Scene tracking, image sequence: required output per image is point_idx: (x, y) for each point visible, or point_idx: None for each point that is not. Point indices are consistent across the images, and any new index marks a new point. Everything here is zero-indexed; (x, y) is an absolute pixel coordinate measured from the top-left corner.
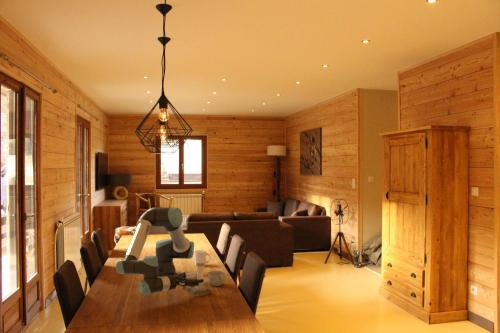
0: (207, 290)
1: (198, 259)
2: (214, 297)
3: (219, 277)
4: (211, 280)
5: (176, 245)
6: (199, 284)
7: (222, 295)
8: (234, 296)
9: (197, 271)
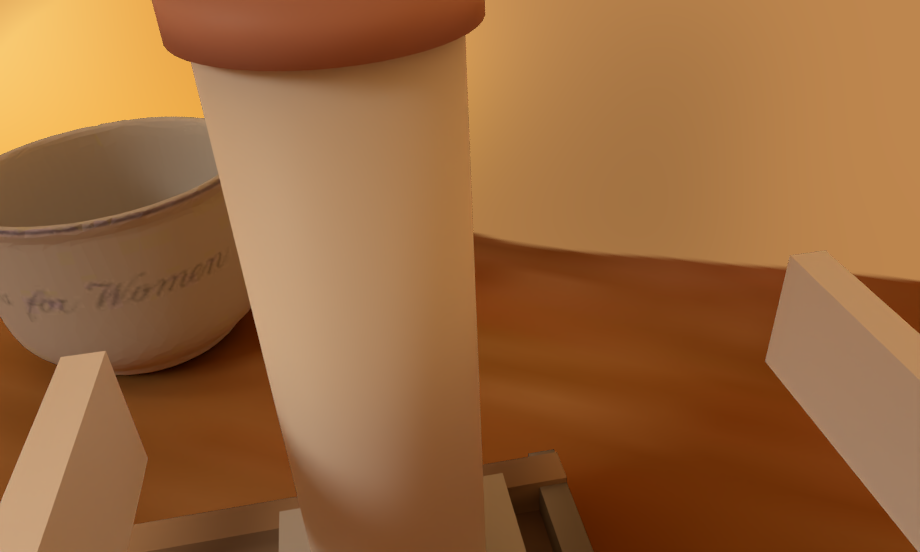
0: (559, 501)
1: None
2: (784, 504)
3: None
4: (167, 311)
5: None
6: (468, 549)
7: (694, 387)
8: (775, 299)
9: (381, 289)
